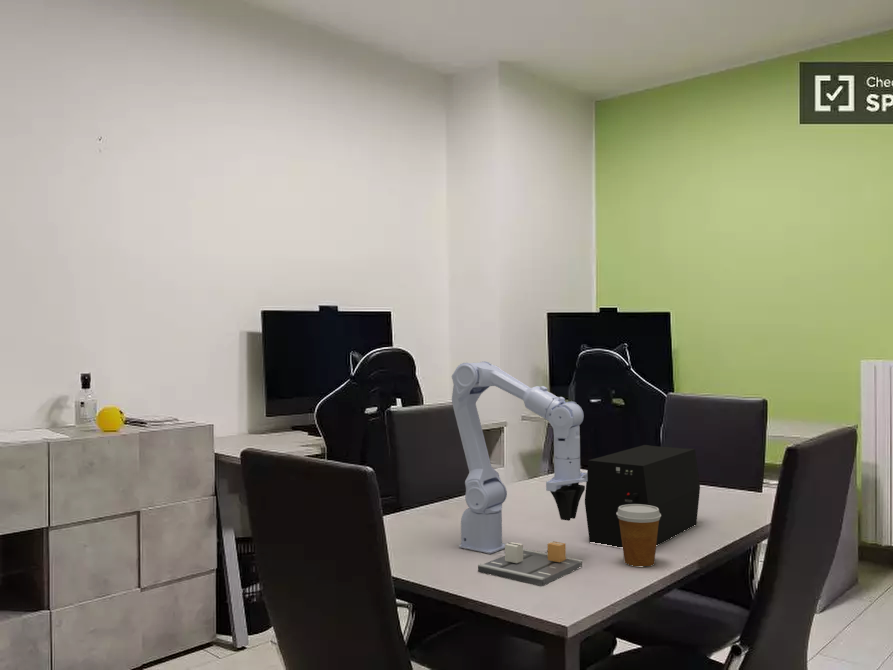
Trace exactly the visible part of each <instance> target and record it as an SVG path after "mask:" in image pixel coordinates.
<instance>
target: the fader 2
mask: <svg viewBox="0 0 893 670" xmlns="http://www.w3.org/2000/svg"><path fill="white" fill-rule="evenodd" d="M566 544H567V543H566V542H565V543H564V542H560V541H559V542H558V541H550V542H547V553H548V560H550V561H555V562H562V561H564V560H566V557H567V556H566V555H567V554H566V549H567V547H566Z"/></svg>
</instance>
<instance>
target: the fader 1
mask: <svg viewBox="0 0 893 670" xmlns="http://www.w3.org/2000/svg"><path fill="white" fill-rule="evenodd" d="M523 549H524V544H523V543H517V542H513V541H511V542H507V543H505V549H504V556H505V561H508V562H513V563H519V562H521V561H523Z"/></svg>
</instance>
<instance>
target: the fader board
mask: <svg viewBox="0 0 893 670" xmlns="http://www.w3.org/2000/svg"><path fill="white" fill-rule="evenodd" d="M579 567H581V568H583V560H582V559H578V558H572V557H568V556H566V560H564V561H562V562H555V561H550V560H548V552H540V551H535V550H531V549H528V548H527V549H525V548H523V561H521V562H519V563H513V562H508V561H505V555H502V556H500V557H497V558H494V559H493V560H490V561H487V562H484V563H478V565H477V571H478V573H483V574H486V575H490V574H491V576H495V577H500V578H505V579H509V580H512V581H517V582H522V583H526V584H530V585H535V586H539V587H544V586H546V585H548V584H550V583H552V582H554V581H556V580H558V579H560V578H562V577H564V576H563V575H565V574H567V575H568V573H569V572H571V571H573V570H575V571H577V570H578V569H577V568H579ZM576 569H577V570H576ZM579 569H580V568H579ZM573 572H574V571H573ZM571 573H572V572H571ZM569 574H570V573H569ZM561 576H562V577H561ZM565 576H566V575H565ZM557 578H558V579H557ZM553 580H554V581H553ZM551 581H552V582H551ZM549 582H550V583H549ZM547 583H548V584H547ZM545 584H546V585H545Z"/></svg>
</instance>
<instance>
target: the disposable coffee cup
mask: <svg viewBox="0 0 893 670" xmlns="http://www.w3.org/2000/svg"><path fill="white" fill-rule="evenodd" d="M616 515H617V516H618V518H619V525H620V532H621V539H622V546H623V549H622V553H623V561H624V564H625V563H627V564H629V565H628V566H630V565H633V566H632V567H634V566H650V567H652V566H651V565H653V564H654V565H655V559H656V549H657V546H656V543H657V533H658V524H659V520H660V517H661V514H660V512H659V509H658V508H657V507H655V506H651V505H643V504H628V505H622V506H619V507H618V512H617V513H616ZM627 564H626V565H627ZM654 565H653V566H654Z"/></svg>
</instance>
